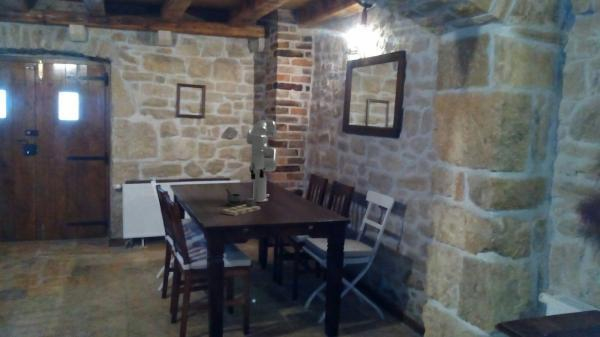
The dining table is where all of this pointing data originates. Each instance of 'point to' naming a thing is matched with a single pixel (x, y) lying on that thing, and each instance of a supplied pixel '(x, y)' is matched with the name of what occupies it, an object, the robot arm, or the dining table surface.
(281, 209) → the dining table surface
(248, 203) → the fader knob
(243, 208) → the fader board
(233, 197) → the mortar and pestle
